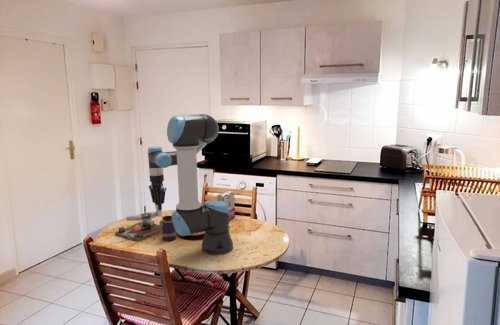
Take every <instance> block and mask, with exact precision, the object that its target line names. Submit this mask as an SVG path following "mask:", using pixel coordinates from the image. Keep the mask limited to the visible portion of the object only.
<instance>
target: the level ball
mask: <svg viewBox="0 0 500 325" xmlns="http://www.w3.org/2000/svg"><path fill="white" fill-rule="evenodd" d="M141 229H142V227H141V226H140V225H136V226H135V227H134V231H135V232H140V231H141Z"/></svg>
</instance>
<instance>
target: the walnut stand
mask: <svg viewBox="0 0 500 325" xmlns="http://www.w3.org/2000/svg"><path fill="white" fill-rule="evenodd" d="M134 225H135V224H133V225H131V226H128V227H126V228H125V227H124V226H123V227H122V226H121V227H119V228H118V231H115V232H114V236H116V237H120V238H124V239H128V240H130V241H134V242H136V243H137V242H138V243H139V242H142V241H144V240H146V239H148V238H151V237H153V236H155V235H157V234H160V226H159V224H157V223H154V225H152V227H151V229H149V230H144V231H140V232H135V231H134V227H133V226H134Z"/></svg>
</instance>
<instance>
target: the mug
mask: <svg viewBox="0 0 500 325" xmlns="http://www.w3.org/2000/svg"><path fill="white" fill-rule="evenodd" d="M161 218H162V219H161V220H159V224H158V225H159V226H160V232H159V234H160V237H162V240H163V241H164V242H172V241H174V240H176V239H177V232H176V230H175V228H174V225H173V222H172V215H164V216H162V217H161Z"/></svg>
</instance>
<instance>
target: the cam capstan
mask: <svg viewBox="0 0 500 325" xmlns="http://www.w3.org/2000/svg"><path fill="white" fill-rule="evenodd" d="M155 217H157V216H156V211H154V212H152V213H151V212H144V213H141V214H140V215H137V216H126V219H125V220H126V222H131V221H132V222H134V221H141V222H137V223H134V224H133V225H134V226H133V225H132V226H133V227H135V226H136V225H140V226H141V227H142V229H141V231H144V230H149V229H151V227H152V225H154V224H155V221H154V220H153V218H155Z"/></svg>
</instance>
